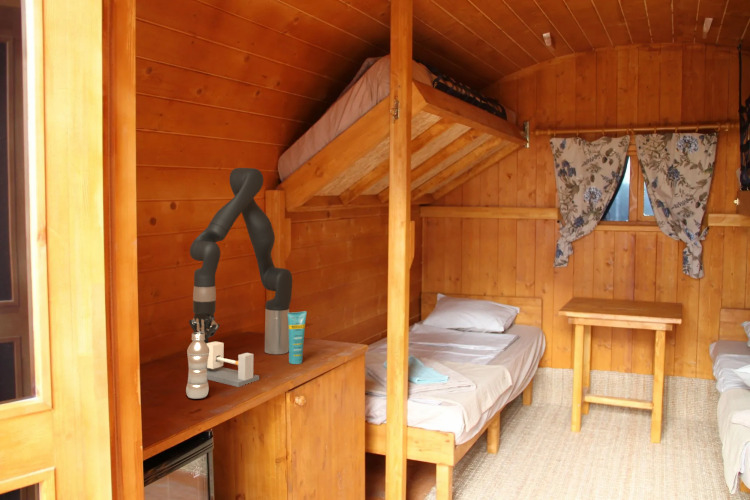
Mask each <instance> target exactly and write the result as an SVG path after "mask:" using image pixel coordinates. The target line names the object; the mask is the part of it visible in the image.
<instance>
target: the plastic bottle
mask: <svg viewBox="0 0 750 500" xmlns="http://www.w3.org/2000/svg"><path fill="white" fill-rule="evenodd" d="M191 340H192V342H190V344H189V346H188V347H187V350H186V352H187V353H186V355H187V363H188V373H187V374H188V375H187V376H188V377H187V384H186V389H185V392H186V393H185V394H186V395H187V397H188V398H189V399H193V400H194V399H195V400H196V399H204V398H206V397H207V396H208V394H209V389H210V388H209V386H210V385H209V381H208V379H207V364H208V357H209V347H208V346H207V344H206V343H205V342H204V340H205V334H204V333H202V332H198V331H197V332H195V333H194V332H192V333H191Z"/></svg>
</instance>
